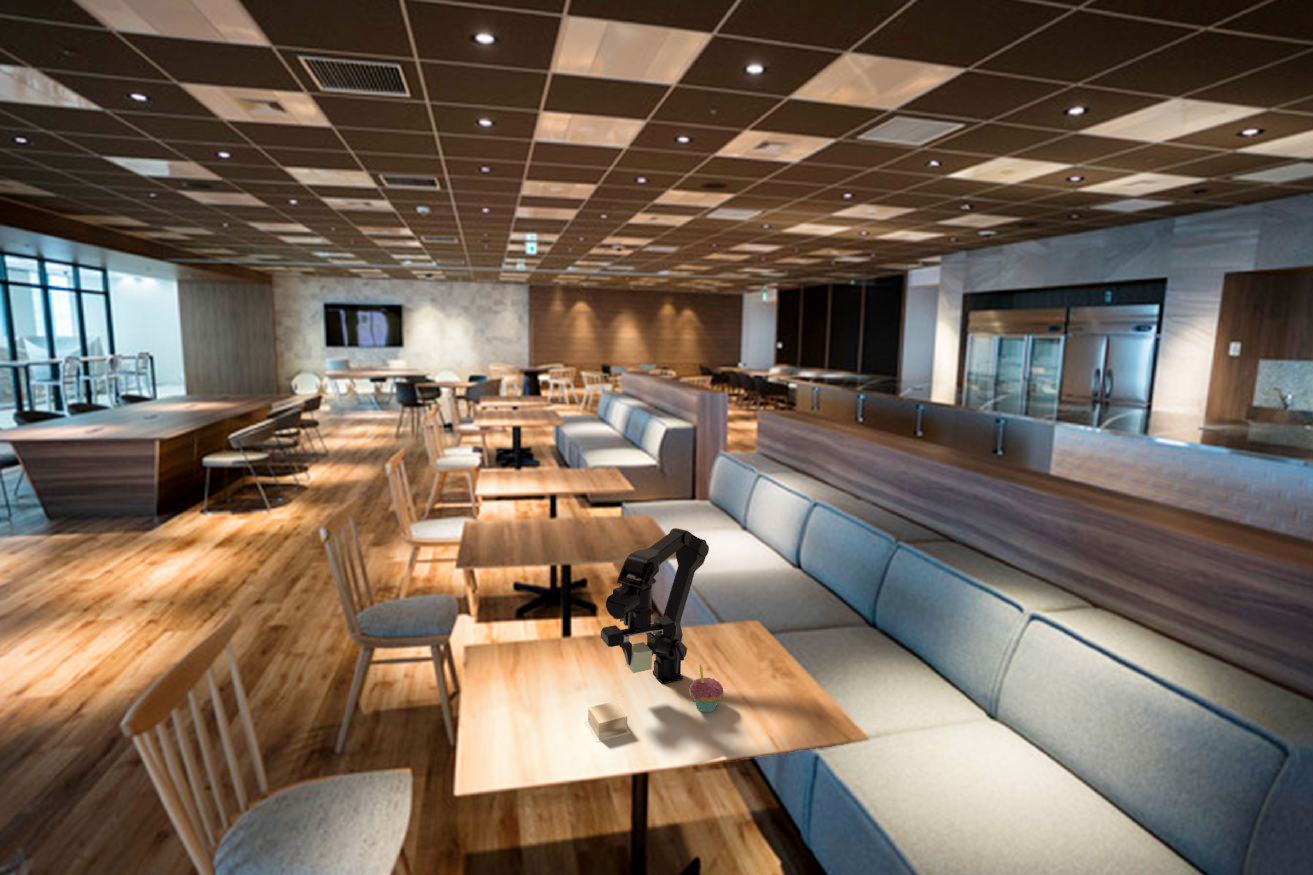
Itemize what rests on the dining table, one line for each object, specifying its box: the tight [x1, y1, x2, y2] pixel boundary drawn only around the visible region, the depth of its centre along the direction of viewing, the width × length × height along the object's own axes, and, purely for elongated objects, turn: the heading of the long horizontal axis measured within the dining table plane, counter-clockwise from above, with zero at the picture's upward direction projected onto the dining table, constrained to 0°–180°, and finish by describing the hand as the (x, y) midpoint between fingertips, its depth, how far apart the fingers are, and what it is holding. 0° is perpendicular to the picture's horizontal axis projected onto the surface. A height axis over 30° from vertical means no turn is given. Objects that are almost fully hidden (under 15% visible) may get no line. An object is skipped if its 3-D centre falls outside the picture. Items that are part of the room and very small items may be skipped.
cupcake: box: [688, 663, 724, 713], centre depth 165 cm, size 9×8×12 cm
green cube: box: [624, 641, 653, 674], centre depth 167 cm, size 5×5×5 cm
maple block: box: [587, 700, 628, 739], centre depth 155 cm, size 7×7×4 cm
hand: (638, 662), depth 167 cm, fingers closed on green cube, 5 cm apart
